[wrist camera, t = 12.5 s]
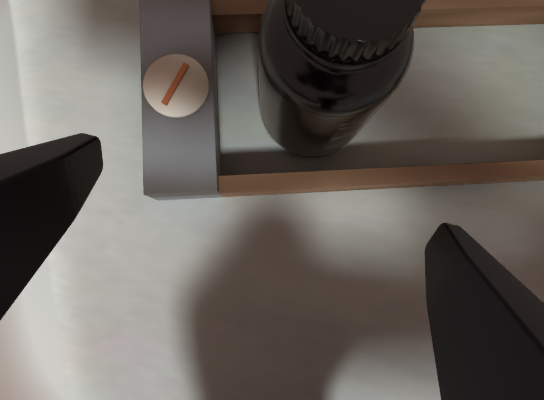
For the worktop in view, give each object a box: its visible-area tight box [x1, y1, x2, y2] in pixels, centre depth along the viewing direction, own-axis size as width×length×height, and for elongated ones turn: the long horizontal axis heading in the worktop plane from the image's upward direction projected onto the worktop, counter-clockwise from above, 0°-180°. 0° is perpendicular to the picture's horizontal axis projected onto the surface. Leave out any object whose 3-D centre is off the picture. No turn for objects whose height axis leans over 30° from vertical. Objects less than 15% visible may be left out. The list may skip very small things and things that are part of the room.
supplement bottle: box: [258, 0, 426, 156], centre depth 18 cm, size 7×7×12 cm
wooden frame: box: [140, 0, 544, 200], centre depth 22 cm, size 12×31×4 cm, turn 93°
